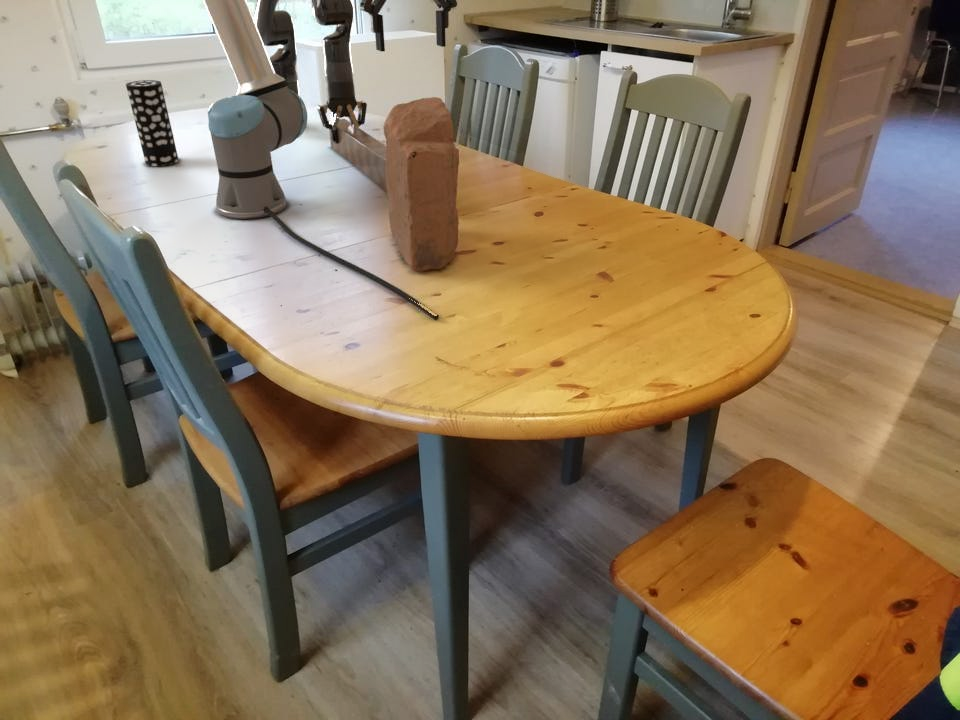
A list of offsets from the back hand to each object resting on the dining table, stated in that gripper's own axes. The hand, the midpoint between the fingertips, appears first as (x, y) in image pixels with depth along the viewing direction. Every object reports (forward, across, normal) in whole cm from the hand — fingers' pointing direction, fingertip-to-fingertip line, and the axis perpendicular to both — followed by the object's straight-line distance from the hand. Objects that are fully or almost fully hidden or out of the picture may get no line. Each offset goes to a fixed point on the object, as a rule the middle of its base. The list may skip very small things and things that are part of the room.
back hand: (345, 141), depth 195 cm
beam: (+3, 0, +25) cm, 25 cm away
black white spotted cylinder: (-7, +48, -13) cm, 50 cm away
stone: (+3, +9, +73) cm, 73 cm away
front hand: (-31, 0, +49) cm, 58 cm away
